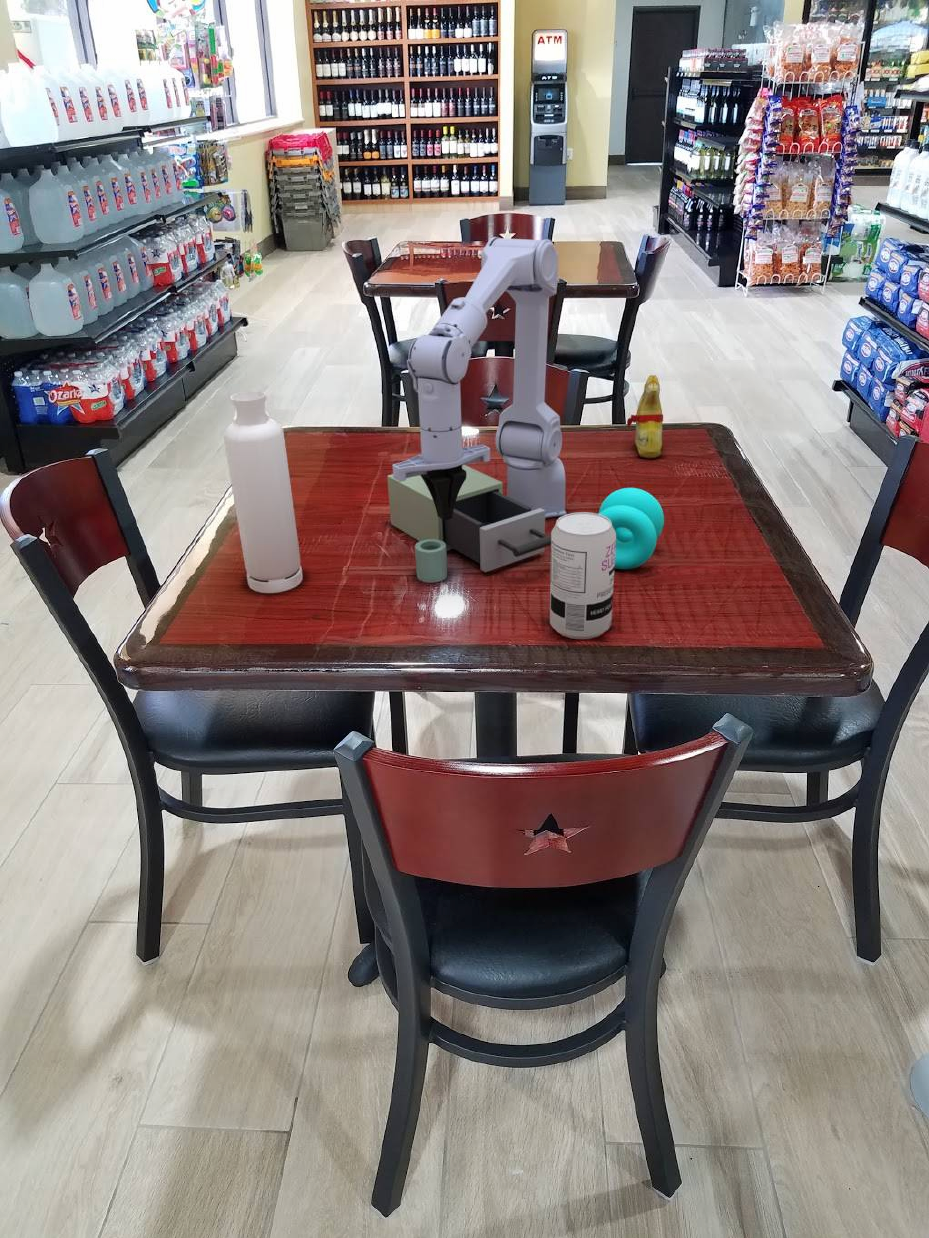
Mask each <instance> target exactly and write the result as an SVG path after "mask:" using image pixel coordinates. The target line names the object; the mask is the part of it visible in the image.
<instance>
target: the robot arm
mask: <svg viewBox="0 0 929 1238" xmlns="http://www.w3.org/2000/svg"><path fill="white" fill-rule="evenodd" d="M559 259H560V258H559V252H558V250H557V249H556V247H555V244H554V243H553V242H552V240H550V239H549V238H547V239H545V238H544V239H527V238H526V239H523V238H504V237H503V238H502V237H499V236H492V237H491V238H490V239H489V240H488V241H487V243H486V244H485V246H484V248H483V249H482V252H481V262H480V263H481V264H480V265H481V266H480V267H481V269H480V271H479V273H478V274H477V276H476V278H475V279H474V281H473V283H472V285H471V287H470V288H469V289H468V291H467V294H466V295H465V297H464V296H463V297H457V298H454V299H452V301H451V302H450V304H449V305H448V306H447V309H445V311H444V312H443V314H441V316H440V318H439V319H438V320H437V322H436V323H435V324H434V325H433V328H432V329H431V330H430V331H429V333H428V334H422V335H420V336H419V337H417V338H416V339H414V340H413V342H412V343H411V345H410V347H409V350H408V359H407V360H406V366H407V370H408V373H409V375H410V377H411V378H412V382H413V383H412V385H413V389H414V391H415V393H417V397H418V411H419V412H418V417H419V432H420V433H419V434H420V451H421V453H420V454H417V455H416V456H413V457H411V458H409V459H406V460H404V461H401V462H397V463H393V464H391V465H392V474H393V478H395V479H396V480H398V481H399V482H401V481H405V480H406V478H410V477H414V476H419V475H420V476H421V477H422V479H423V480H424V482H425V484H426V486H427V487H428V489H429V492H430V494H431V496H432V499H433V501H434V504H435V508H436V511H437V516H438V517H440V518H441V519H443V520H448V519H451V518H452V515H453V510H454V506H455V502H456V499H457V496H458V493H459V491H460V489H461V487H462V485H463V483H464V481H465V480H466V476H467V475H466V471H465V470H464V469H462V465H466V466H468V465H471V464H475V463H479V462H483V463H487V462H491V448H490V447H488V446H486V445H485V444H478V445H471V446H463V432H462V431H463V428H462V427H463V426H462V397H461V381H462V380H463V379H464V378H465V376H466V373H467V371H468V367H469V362H470V359H471V357H472V354H473V352H472V348H473V347H474V345H475V344H476V343H477V341H478V339H479V338H480V337H481V335H482V334H483V332H484V331H485V330H486V328H487V326H488V316H487V313H488V312H489V310H490V309H491V308H492V307H493V306H494V305H495V303H496V302H497V301H498V300H499V299H500V297H501V296H503V294H504V293H505V292H506V293H507V294H508V295H509V296H510V297H511V298H512V299H513V301H514V302H515V327H514V328H515V329H514V362H513V388H512V389H513V395H512V404H511V405H509V406H508V407H506V408H504V410H502V411H501V412H500V414H499V417H498V424H497V425H498V426H497V430H496V433H495V439H494V442H495V449H496V451H497V453H498V455H499V456H500V457H502V462H503V463H505V464H506V496H507V497H509V498H511V499H514V500H516V501H518V502H520V503H522V504H524V505H526V506H528V507H530V508H531V511H533V510H536V509H539V508H541V509H543V510H545V519H549V518H555V517H562V516H564V515H566V514H567V511H566V480H567V479H566V470H565V466H564V463H563V461H562V460H561V459H560V458H559V456H560V454H561V451H562V447H563V434H562V430H561V416H560V415H559V414H558V413H557V412H556V411H555V410H553V408H551V407H550V406H549V405H548V404H547V403H546V402H545V396H546V393H545V392H546V373H547V372H546V371H547V352H548V351H547V349H548V329H549V309H550V308H549V306H550V298H551V297H553V296H555V295H557V290H558V281H559V279H558V278H559V261H560V260H559Z"/></svg>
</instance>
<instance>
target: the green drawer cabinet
mask: <svg viewBox="0 0 929 1238" xmlns="http://www.w3.org/2000/svg"><path fill="white" fill-rule="evenodd" d="M462 469H464V470H465V471H466V475H467V476H466V480H465V481H464V483H463V485H462V487H461V489H460V491H459V493H458V496H457V499H456V501H459V500H462V499H466V498H469V497H472V496H475V495H479V494H482V493H485V492H489V491H492V490H495V491H497V492H499V493H501V494H503V495H504V483H503V481H500V480H499V479H496V478H494V477H492V476H490V475H487V474H485V473H483V472H481V471H479V470H476V469H474V468H472V467H470V466H468V465H462ZM386 477H387V490H388V503H389V504H388V505H389V515H390V516H389V517H390V518H389V519H390V525H391V526H394V527H396V528H397V529H399V531H402V532H403V533H405V534H407V535H409V536H410V537H412V538H414V539H415V540H417V541H418V542H420V541H423V540H427V539H436V540H441V541H443V526H442V519H441V518H440V517H438V516H437V511H436V508H435V504H434V501H433V499H432V496H431V494H430V492H429V489H428V487H427V486H426V484H425V482H424V480H423V479H422V477H421V476H420V475H419V476H414V477H410V478H406V480H405V481H401V482H399V481H398V480H396V479H395V478H393V473H391V474H388V475H386ZM453 549H454V548H452V547H450V546H449V545H447V544H446V552H447V551H450V550H453ZM454 550H455V549H454Z"/></svg>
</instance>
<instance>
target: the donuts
mask: <svg viewBox="0 0 929 1238" xmlns="http://www.w3.org/2000/svg"><path fill="white" fill-rule="evenodd" d="M598 514H600V515H603V516H605V517H607V518H608V519H609V520H610V521H611V524H612V526H613V528H614V530H615V532H616V548H615V567H614V569H616V570H632V569H635V568H636V569H637V568H639V567H640V566H643V565H644V564H645V563H646V562H647V561H648V560H650V558H651V557H652V556H653V554H654V552H655V549H656V547H657V541H658V538H659V537H660V535H661V534H662V532H663V528H664V524H665V514H664V511H663V508H662V505H661V504H660V503H659V501H658V500H657V498H656V497H654V496H653V495H652V494H651V493H649V491H646V490H643V489H641V488H636V487H624V488H620V489H617V490H615V491H613V492H611V493H610V494H609V495H608V496H606V497H605V499H604V500H603V501H602V503H601V505H600V507H599V511H598Z"/></svg>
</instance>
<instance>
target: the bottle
mask: <svg viewBox="0 0 929 1238" xmlns="http://www.w3.org/2000/svg"><path fill="white" fill-rule="evenodd" d="M229 398H230V399H229V400H230V403H231V404H232V405H233V406H234V408H235V409H234V416H233V421H232V422H231V423H230V424H228V426H227V427H226V428H225V430H224V434H223V442H224V447H225V454H226V458H227V465H228V471H229V477H230V483H231V484H230V485H231V490H232V495H233V502H234V507H235V513H236V520H237V526H238V532H239V538H240V545H241V549H242V550H241V551H242V556H243V563H244V569H245V571H246V580H247V585H248V587H249V589H251V590H253V591H254V592H257V593H263V594H278V593H282V592H286V591H289V590H293V589H294V588H296V587H298V585H300V584H301V583H302V581H303V569H302V565H301V554H300V545H299V538H298V532H297V524H296V516H295V507H294V500H293V493H292V486H291V477H290V471H289V463H288V462H289V461H288V455H287V449H286V439H285V433H284V428H283V426H282V425H281V424H280V423H279V422H278V421H277V420H275V419H273V418H271V417H270V415H269V413H268V412H267V411H266V407H265V405H266V400H267V393H266V392H265V391H261V390H245V391H240V392H239V391H238V392H235V393H233V394H231V395H230V397H229Z"/></svg>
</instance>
